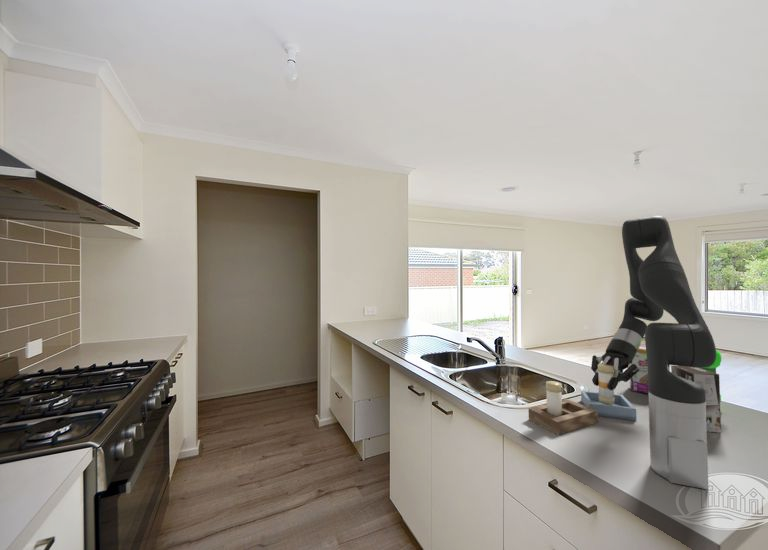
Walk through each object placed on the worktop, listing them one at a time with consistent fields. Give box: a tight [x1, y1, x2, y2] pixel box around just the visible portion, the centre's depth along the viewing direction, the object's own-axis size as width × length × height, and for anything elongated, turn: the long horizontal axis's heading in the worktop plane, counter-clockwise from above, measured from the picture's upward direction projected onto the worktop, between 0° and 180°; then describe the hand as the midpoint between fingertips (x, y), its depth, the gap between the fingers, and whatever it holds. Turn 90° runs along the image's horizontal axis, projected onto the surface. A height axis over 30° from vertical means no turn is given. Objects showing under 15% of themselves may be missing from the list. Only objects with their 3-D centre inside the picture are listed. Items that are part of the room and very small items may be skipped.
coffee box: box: [670, 365, 722, 434], centre depth 90 cm, size 9×6×16 cm
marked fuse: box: [598, 363, 615, 405], centre depth 100 cm, size 4×4×12 cm
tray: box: [580, 390, 637, 422], centre depth 100 cm, size 12×12×4 cm
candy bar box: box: [629, 346, 671, 394], centre depth 114 cm, size 11×5×16 cm, turn 58°
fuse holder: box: [528, 398, 599, 436], centre depth 93 cm, size 17×10×4 cm, turn 113°
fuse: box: [545, 380, 563, 417], centre depth 92 cm, size 4×4×12 cm
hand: (602, 386), depth 100 cm, fingers closed on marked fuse, 4 cm apart
